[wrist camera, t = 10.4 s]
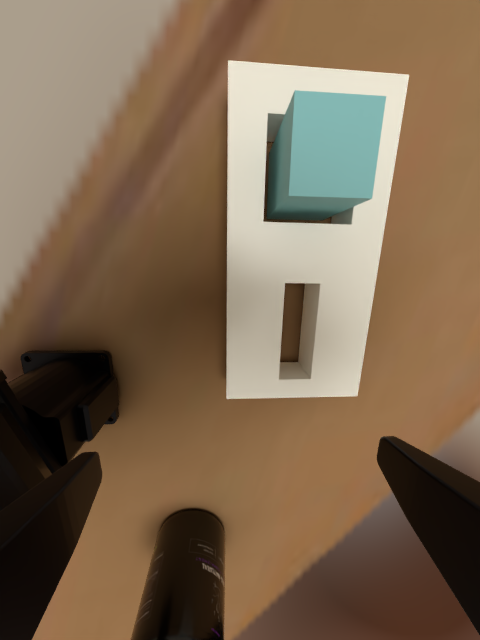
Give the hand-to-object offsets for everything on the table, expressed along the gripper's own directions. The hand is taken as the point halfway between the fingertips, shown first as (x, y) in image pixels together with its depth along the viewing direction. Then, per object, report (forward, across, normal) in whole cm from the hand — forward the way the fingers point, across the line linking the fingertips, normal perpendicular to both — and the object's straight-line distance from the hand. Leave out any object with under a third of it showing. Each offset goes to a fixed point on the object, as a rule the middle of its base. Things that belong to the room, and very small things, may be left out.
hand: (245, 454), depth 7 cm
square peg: (+12, -5, -11) cm, 17 cm away
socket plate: (+12, -5, -6) cm, 14 cm away
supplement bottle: (+12, +4, +21) cm, 25 cm away
